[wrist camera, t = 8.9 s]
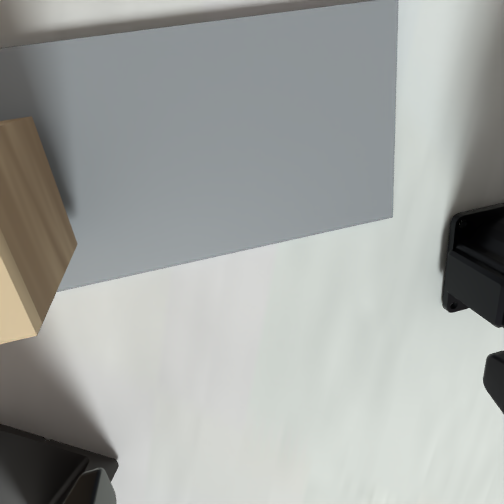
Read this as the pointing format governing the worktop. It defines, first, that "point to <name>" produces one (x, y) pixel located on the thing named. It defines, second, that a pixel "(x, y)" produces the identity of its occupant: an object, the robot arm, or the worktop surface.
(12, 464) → the phone stand
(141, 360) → the worktop surface
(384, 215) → the board
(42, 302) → the wooden block
